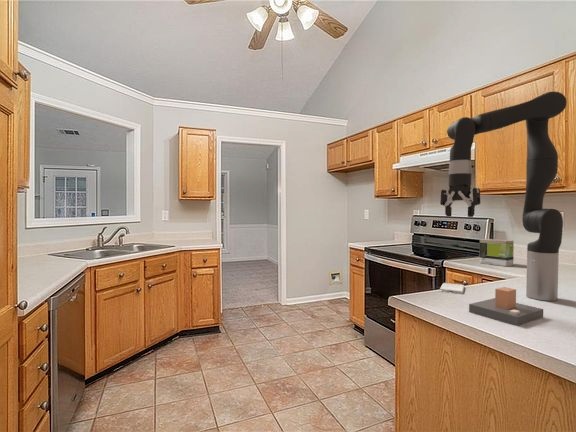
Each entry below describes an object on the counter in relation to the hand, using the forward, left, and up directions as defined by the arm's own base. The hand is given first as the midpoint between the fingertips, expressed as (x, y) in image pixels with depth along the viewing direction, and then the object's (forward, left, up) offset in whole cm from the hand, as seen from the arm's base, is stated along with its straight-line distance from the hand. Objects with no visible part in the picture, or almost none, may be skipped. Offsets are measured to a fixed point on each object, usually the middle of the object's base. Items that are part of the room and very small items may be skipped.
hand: (459, 216), depth 121 cm
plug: (+6, +20, -30) cm, 37 cm away
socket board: (+6, +20, -30) cm, 37 cm away
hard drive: (-8, -8, -31) cm, 33 cm away
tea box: (-89, -34, -30) cm, 100 cm away
